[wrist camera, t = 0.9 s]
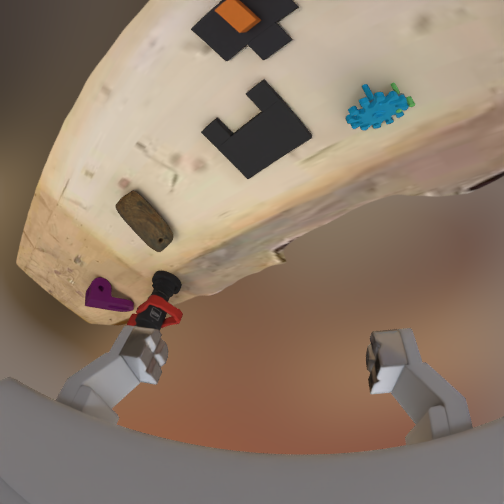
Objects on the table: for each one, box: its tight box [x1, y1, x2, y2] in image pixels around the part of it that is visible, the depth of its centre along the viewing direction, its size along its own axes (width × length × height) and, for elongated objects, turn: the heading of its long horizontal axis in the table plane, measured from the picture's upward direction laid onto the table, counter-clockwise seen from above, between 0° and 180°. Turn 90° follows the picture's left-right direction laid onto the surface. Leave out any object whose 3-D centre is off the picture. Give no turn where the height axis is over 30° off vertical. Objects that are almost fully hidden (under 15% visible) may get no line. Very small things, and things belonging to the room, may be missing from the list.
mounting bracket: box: [85, 277, 134, 312], centre depth 93 cm, size 9×8×18 cm
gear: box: [346, 83, 415, 130], centre depth 34 cm, size 11×6×10 cm
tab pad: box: [191, 0, 299, 61], centre depth 29 cm, size 14×12×6 cm
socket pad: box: [201, 80, 312, 179], centre depth 44 cm, size 14×12×2 cm
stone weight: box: [116, 191, 173, 252], centre depth 60 cm, size 15×7×7 cm, turn 38°
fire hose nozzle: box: [127, 271, 183, 331], centre depth 73 cm, size 10×28×25 cm
